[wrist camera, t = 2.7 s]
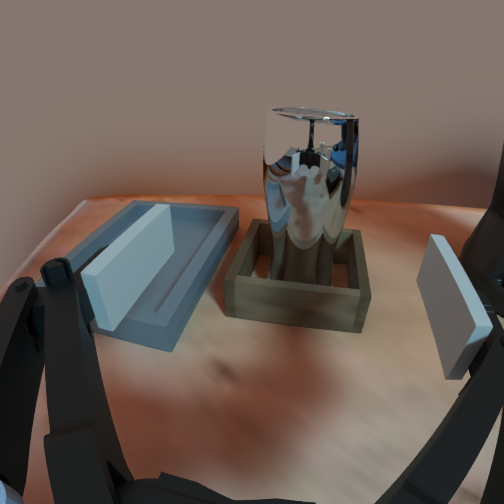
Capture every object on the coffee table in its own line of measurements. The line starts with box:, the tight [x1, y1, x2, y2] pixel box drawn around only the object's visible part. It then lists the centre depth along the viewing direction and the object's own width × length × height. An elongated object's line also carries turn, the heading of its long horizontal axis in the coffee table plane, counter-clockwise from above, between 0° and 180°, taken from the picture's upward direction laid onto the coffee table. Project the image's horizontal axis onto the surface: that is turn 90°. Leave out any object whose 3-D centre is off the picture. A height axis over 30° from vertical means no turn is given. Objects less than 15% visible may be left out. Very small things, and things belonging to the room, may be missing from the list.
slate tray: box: [35, 200, 239, 352], centre depth 31 cm, size 14×20×2 cm
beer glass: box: [263, 106, 359, 287], centre depth 25 cm, size 7×7×15 cm
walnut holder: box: [224, 219, 371, 333], centre depth 28 cm, size 11×11×4 cm
